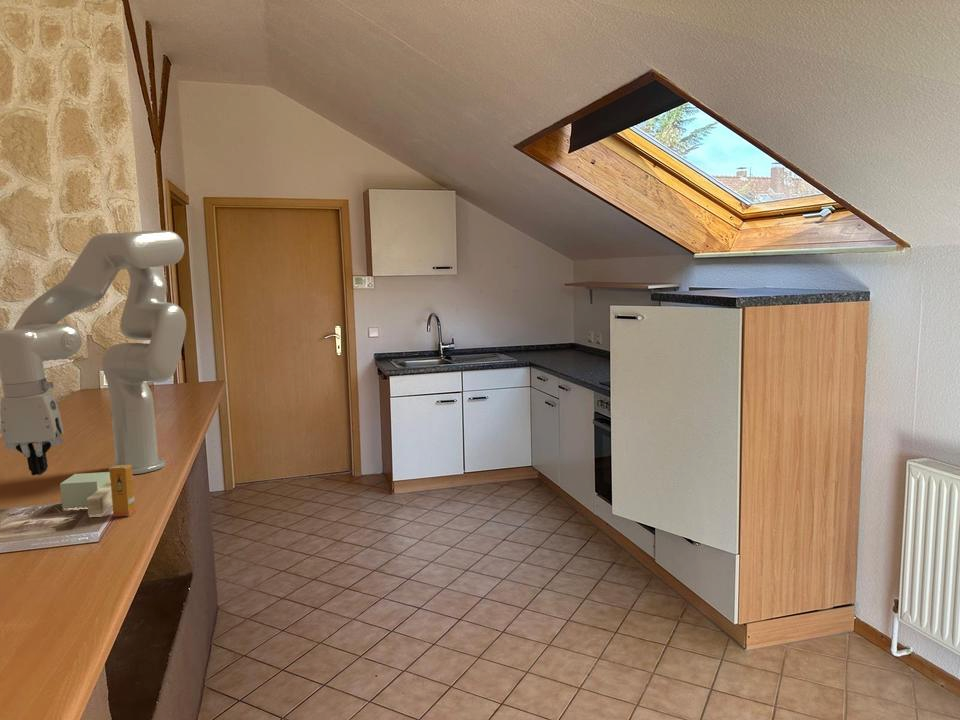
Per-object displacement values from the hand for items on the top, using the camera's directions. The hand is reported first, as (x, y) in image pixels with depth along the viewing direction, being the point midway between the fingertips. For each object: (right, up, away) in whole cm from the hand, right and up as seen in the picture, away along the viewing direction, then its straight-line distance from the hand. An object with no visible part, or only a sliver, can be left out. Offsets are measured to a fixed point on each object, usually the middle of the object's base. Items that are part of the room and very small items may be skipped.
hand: (39, 472), depth 143 cm
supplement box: (+22, -7, -7) cm, 24 cm away
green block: (+10, -7, 0) cm, 13 cm away
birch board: (+15, -6, 0) cm, 17 cm away
